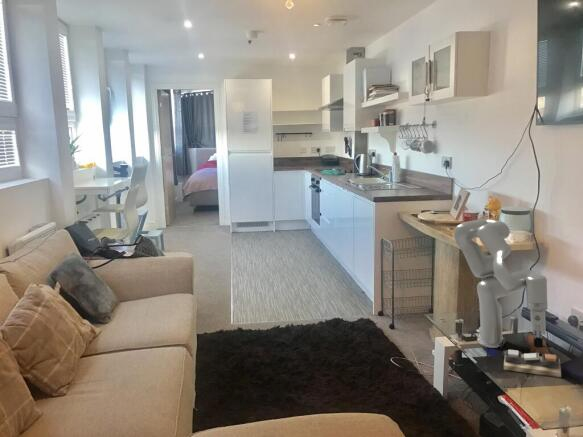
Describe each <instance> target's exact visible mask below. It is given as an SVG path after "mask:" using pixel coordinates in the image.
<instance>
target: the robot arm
mask: <svg viewBox="0 0 583 437" xmlns="http://www.w3.org/2000/svg"><path fill="white" fill-rule="evenodd" d="M510 231H511V230H510V228H509V226H508V224H506V223H505V222H503V221H501V220H496V219H489V218H480V219H474V220H469V221H465V222H464V221H463V222H462V223H459V224H458V225H456V226H455V228H454V232H453V235H454V240H455V242H456V245H457V247H458V248H459V249H460V251H461V252H462V253H463V256H464V258H465V261H466V262H467V264H468V267H469V269H470V271H471V273H472V275H473V276H474V277H475V278H478V279H479V278H485V279H482V280H481V281H479V282H478V283H477V286H476V293H477V296H478V301H479V320H480V321H479V322H480V326H479V327H478V329H476V332H477V333H478V334H479V336H478V337H477V338H476V339H477V340H476V341H477V344H479V345H480V346H483V347H484V348H490V349H498V347H499V346H500V345H499V344H500V343H501V342H502V340H503V339H505V337H503V311H502V310H503V309H502V305H501V304H500V302H499V300H498V299H499V298H503V297H506V296H509V295H512V294H513V293H514V292H516V291H521V290H523V289H525V292H526V295H525V296H526V308H527V309H528V310H530V313H529V314H530V324H531V325H530V326H531V331H532V332H531V333H533V336H534V347H543V340H544V339H543V336H542V335H546V332H547V331H546V327H547V326H546V311H547V310H548V308H549V307H548V283H547V282H548V280H547V277H546V276H545V275H543V274H537V273H536V272H534V271H531V270H530V269H523V270H517V271H513V272H510V271H509V269H508V266H507V265H506V263H505V261H504V260H505V259H506V258H507V257H508V256H509V255H510V253H511V252H512V247H511V246H510V245H509V244H508V242H507V241H506V239H508V237H509V236H510V234H511V232H510ZM476 238H478V239H479V240H480V241H481V243H482V244H483V246H484V247H485V248H486V250H487V251H488V253H489V255H485V253H484V251H483V248H482V247H481V245H480V244H478V243H477V242H476V241H474V240H473V239H476ZM491 276H493V277H491ZM486 277H489V278H486ZM542 339H543V340H542Z"/></svg>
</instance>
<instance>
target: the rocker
mask: <svg viewBox="0 0 583 437" xmlns="http://www.w3.org/2000/svg"><path fill="white" fill-rule="evenodd" d="M523 354H524V360H539V353H530V352H529V353H523Z"/></svg>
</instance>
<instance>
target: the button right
mask: <svg viewBox="0 0 583 437" xmlns="http://www.w3.org/2000/svg"><path fill="white" fill-rule="evenodd" d="M556 356H557V355H556V354H551V353H550V354H545V361H551V362H556Z"/></svg>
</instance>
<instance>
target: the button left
mask: <svg viewBox="0 0 583 437" xmlns="http://www.w3.org/2000/svg"><path fill="white" fill-rule="evenodd" d="M519 352H520V351H519V350H516V349H508V356H510V357H518V358H519Z"/></svg>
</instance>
